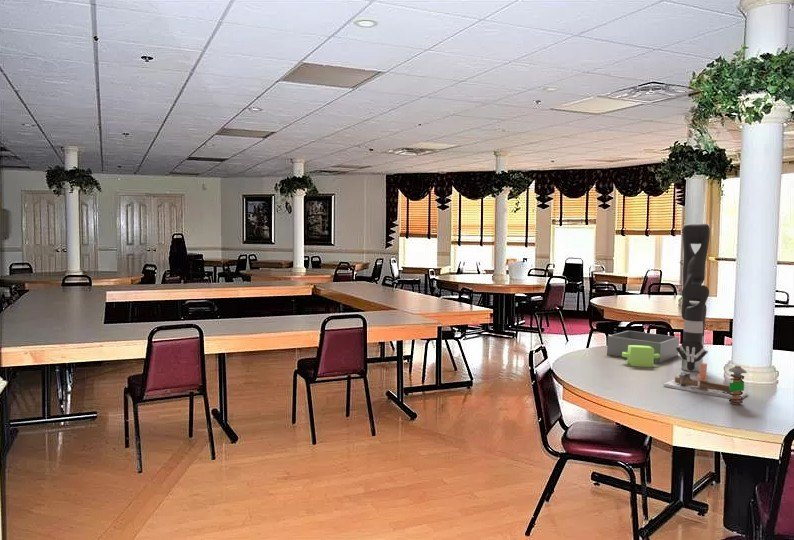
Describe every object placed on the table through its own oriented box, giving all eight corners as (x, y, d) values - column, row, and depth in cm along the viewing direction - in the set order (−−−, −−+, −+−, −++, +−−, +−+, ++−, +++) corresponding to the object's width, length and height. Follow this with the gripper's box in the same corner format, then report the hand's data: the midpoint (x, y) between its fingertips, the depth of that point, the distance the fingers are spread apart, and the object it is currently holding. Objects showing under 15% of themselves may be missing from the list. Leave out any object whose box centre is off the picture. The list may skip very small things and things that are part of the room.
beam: (676, 380, 282) (677, 370, 282) (741, 391, 265) (742, 381, 264) (671, 383, 276) (671, 373, 276) (736, 395, 259) (737, 384, 259)
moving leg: (699, 383, 276) (701, 362, 275) (707, 384, 274) (708, 363, 273) (694, 386, 270) (695, 364, 269) (701, 387, 268) (703, 366, 267)
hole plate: (673, 381, 284) (673, 378, 284) (747, 395, 264) (747, 391, 264) (663, 386, 275) (663, 383, 275) (740, 400, 255) (740, 397, 255)
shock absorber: (728, 400, 255) (730, 363, 254) (746, 403, 251) (748, 366, 250) (724, 403, 250) (727, 366, 249) (742, 407, 246) (745, 368, 245)
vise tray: (627, 347, 364) (628, 330, 364) (678, 355, 346) (679, 337, 345) (606, 354, 344) (607, 335, 343) (659, 362, 325) (660, 343, 324)
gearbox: (656, 363, 323) (657, 345, 323) (662, 367, 314) (663, 348, 313) (620, 361, 325) (621, 343, 325) (625, 366, 315) (626, 347, 315)
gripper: (712, 331, 273) (709, 371, 274) (680, 328, 282) (677, 366, 283) (706, 333, 268) (704, 374, 269) (674, 329, 276) (672, 369, 278)
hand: (690, 370), depth 276 cm, fingers closed
